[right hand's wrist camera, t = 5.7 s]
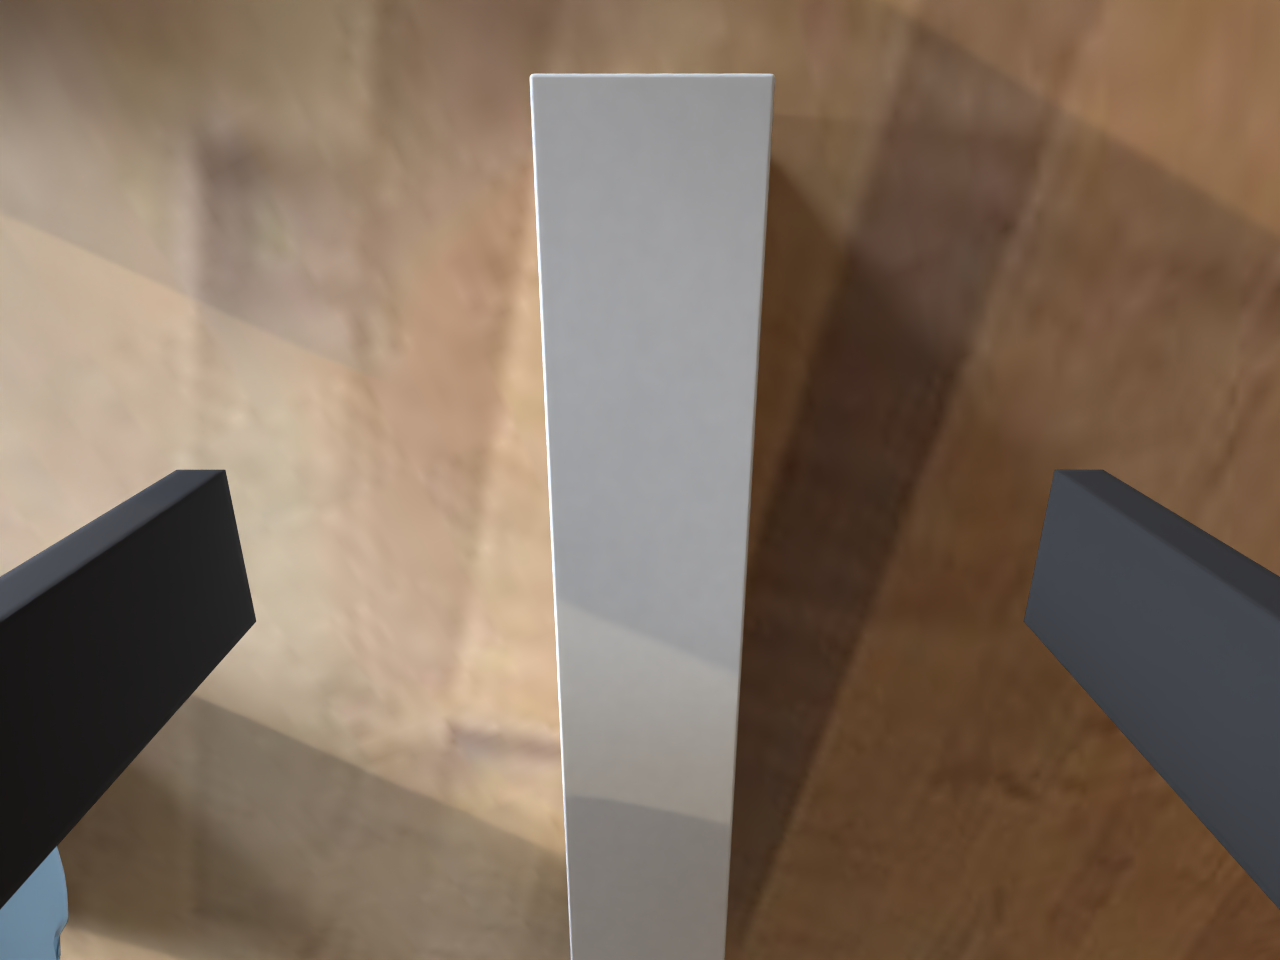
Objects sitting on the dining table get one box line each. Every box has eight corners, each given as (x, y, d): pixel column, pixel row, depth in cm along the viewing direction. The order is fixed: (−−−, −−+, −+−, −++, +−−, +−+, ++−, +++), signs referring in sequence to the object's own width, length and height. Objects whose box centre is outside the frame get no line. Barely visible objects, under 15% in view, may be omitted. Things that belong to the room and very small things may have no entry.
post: (570, 110, 22) (528, 73, 14) (729, 110, 22) (775, 72, 14) (604, 1238, 43) (595, 1476, 35) (686, 1239, 43) (695, 1477, 35)
